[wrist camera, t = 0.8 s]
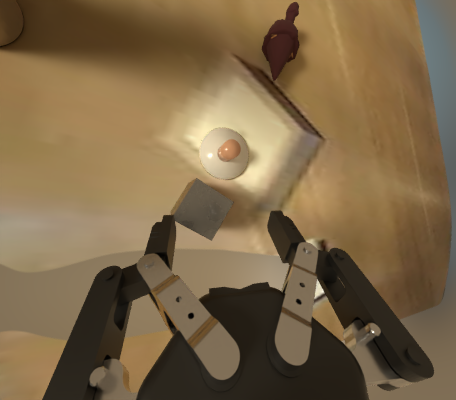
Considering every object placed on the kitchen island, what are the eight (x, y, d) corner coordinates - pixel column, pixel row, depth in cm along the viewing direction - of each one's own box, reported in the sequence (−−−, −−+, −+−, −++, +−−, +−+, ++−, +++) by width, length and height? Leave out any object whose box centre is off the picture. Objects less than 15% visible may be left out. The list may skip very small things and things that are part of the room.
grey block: (170, 211, 32) (171, 218, 22) (188, 183, 33) (196, 178, 23) (199, 227, 34) (211, 240, 24) (216, 200, 35) (233, 202, 25)
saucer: (193, 131, 33) (194, 130, 32) (242, 126, 36) (243, 125, 35) (205, 184, 34) (206, 183, 33) (251, 174, 37) (252, 174, 36)
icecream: (302, 80, 33) (312, 13, 35) (276, 54, 29) (289, -21, 31) (273, 98, 38) (283, 40, 40) (248, 78, 34) (260, 14, 36)
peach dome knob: (215, 146, 34) (221, 140, 30) (231, 144, 35) (238, 138, 31) (219, 163, 34) (225, 159, 30) (234, 160, 35) (242, 156, 31)
